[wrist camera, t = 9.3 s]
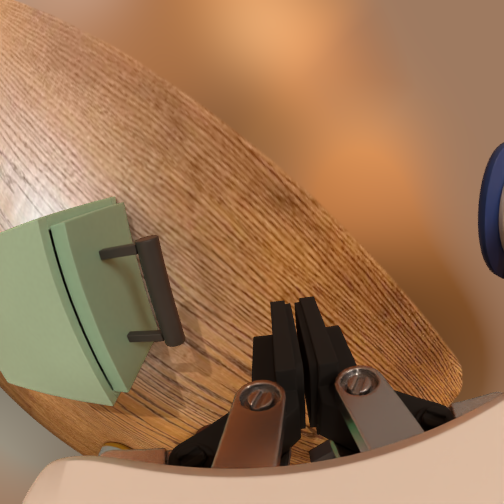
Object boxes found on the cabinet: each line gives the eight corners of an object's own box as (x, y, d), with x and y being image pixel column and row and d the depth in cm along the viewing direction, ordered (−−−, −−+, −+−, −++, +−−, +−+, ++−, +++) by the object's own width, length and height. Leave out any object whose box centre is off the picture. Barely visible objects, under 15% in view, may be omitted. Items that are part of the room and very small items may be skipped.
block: (367, 413, 27) (376, 436, 23) (394, 427, 29) (403, 447, 25) (308, 451, 29) (312, 473, 26) (341, 461, 31) (346, 480, 27)
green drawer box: (115, 196, 20) (36, 218, 11) (152, 332, 23) (113, 406, 14) (17, 226, 20) (-48, 254, 11) (53, 333, 24) (7, 382, 15)
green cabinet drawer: (173, 191, 19) (127, 205, 11) (203, 328, 22) (186, 394, 15) (25, 230, 20) (-30, 254, 12) (60, 333, 23) (21, 375, 15)
